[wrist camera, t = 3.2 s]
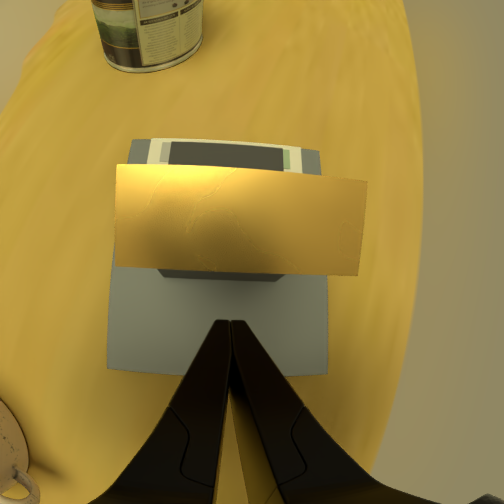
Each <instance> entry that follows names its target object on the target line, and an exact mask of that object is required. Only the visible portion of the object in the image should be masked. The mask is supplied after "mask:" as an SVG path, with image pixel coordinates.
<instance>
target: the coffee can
mask: <svg viewBox="0 0 504 504" xmlns="http://www.w3.org/2000/svg"><path fill="white" fill-rule="evenodd" d="M91 2H92V6H93V11H94V15H95V19H96V22H97V26H98V30H99V34H100V38H101V42H102V46H103V49H104V56H105V59H106V61H107V62H108V63H109V64H110V65H111V66H112V67H114V68H116V69H118V70H121V71H125V72H131V73H146V72H153V71H159V70H163V69H166V68H169V67H172V66H174V65H177V64H179V63H181V62H183V61H185V60H186V59H188V58H189V57H190V56H191V55H193V54H194V53H195V52H196V51H197V49H198V48H199V46H200V45H201V42H202V38H203V36H202V14H203V0H91Z"/></svg>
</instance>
